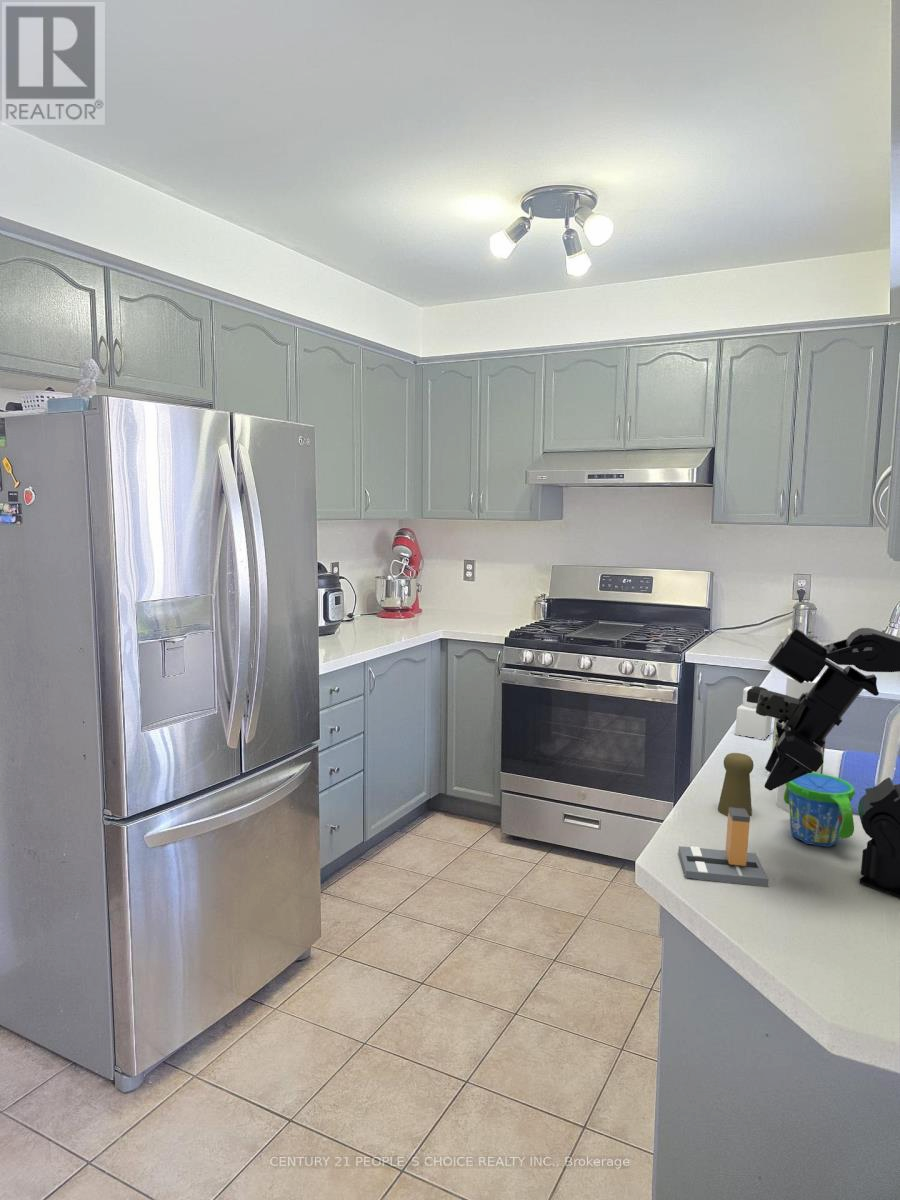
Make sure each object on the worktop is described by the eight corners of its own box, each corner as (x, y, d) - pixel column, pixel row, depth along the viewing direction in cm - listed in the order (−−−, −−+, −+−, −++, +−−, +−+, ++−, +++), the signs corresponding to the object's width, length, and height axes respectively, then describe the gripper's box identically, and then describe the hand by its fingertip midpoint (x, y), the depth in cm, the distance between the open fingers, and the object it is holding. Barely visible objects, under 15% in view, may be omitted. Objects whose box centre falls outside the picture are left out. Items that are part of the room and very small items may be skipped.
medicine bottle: (770, 733, 202) (774, 687, 200) (764, 740, 196) (768, 692, 194) (741, 728, 206) (744, 683, 204) (734, 735, 200) (738, 688, 198)
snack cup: (871, 858, 131) (877, 799, 130) (809, 859, 130) (815, 799, 129) (819, 820, 146) (824, 766, 145) (764, 821, 145) (768, 766, 144)
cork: (724, 803, 154) (728, 747, 152) (756, 811, 150) (761, 754, 148) (712, 812, 149) (716, 754, 148) (745, 820, 145) (750, 762, 144)
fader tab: (740, 863, 127) (745, 808, 126) (745, 873, 123) (749, 817, 122) (724, 862, 127) (728, 807, 126) (728, 872, 124) (732, 815, 122)
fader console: (755, 860, 129) (755, 852, 129) (768, 886, 120) (768, 878, 120) (678, 853, 131) (678, 845, 131) (685, 878, 122) (686, 870, 122)
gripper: (779, 660, 133) (725, 733, 137) (780, 682, 116) (718, 766, 120) (841, 699, 130) (784, 773, 135) (851, 728, 113) (785, 811, 117)
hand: (767, 779), depth 127 cm, fingers open, 9 cm apart
